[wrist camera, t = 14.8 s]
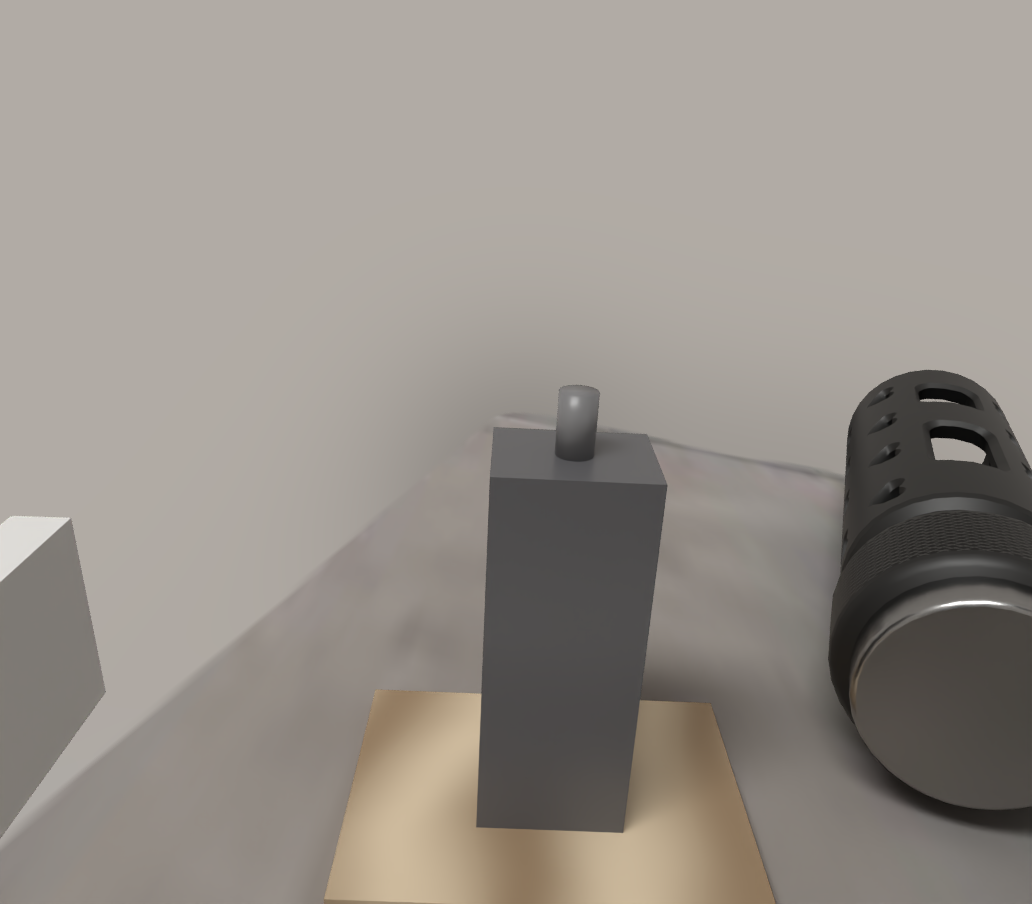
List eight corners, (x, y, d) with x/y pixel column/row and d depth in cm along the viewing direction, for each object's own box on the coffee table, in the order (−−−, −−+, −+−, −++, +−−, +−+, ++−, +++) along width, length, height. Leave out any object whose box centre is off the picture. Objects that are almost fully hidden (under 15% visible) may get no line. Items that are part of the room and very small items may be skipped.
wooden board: (708, 712, 35) (710, 703, 35) (777, 927, 26) (779, 915, 26) (375, 699, 35) (375, 689, 35) (324, 910, 26) (324, 899, 26)
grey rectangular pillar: (610, 749, 32) (653, 375, 26) (623, 833, 28) (675, 418, 23) (481, 744, 32) (496, 367, 26) (476, 827, 28) (492, 410, 23)
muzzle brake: (986, 535, 53) (1032, 377, 49) (1093, 884, 28) (1202, 624, 24) (827, 504, 56) (859, 354, 52) (799, 796, 31) (855, 553, 27)
